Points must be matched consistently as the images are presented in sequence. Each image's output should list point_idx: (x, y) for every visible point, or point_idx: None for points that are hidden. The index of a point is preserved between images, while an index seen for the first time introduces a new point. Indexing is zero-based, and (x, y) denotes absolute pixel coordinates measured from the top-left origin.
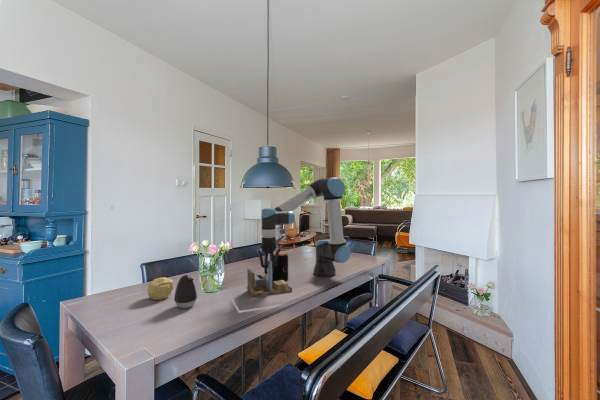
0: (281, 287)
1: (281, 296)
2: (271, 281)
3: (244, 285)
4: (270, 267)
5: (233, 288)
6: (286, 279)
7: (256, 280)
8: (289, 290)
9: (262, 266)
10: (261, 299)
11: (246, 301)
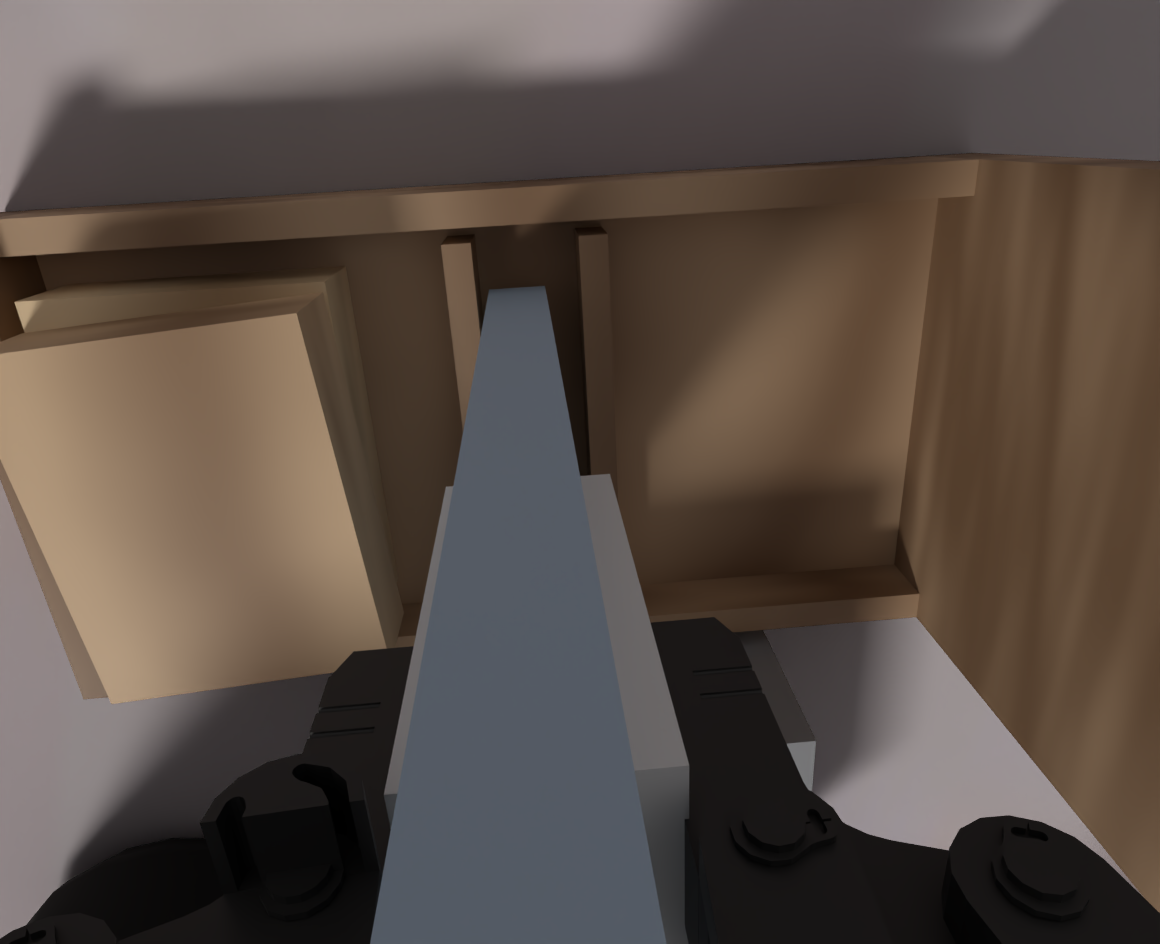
0: (217, 310)
1: (298, 75)
2: (501, 350)
3: None
4: (554, 636)
5: (1051, 805)
6: (48, 910)
7: (805, 738)
8: (25, 216)
9: (1089, 882)
10: (804, 38)
11: (1145, 31)
